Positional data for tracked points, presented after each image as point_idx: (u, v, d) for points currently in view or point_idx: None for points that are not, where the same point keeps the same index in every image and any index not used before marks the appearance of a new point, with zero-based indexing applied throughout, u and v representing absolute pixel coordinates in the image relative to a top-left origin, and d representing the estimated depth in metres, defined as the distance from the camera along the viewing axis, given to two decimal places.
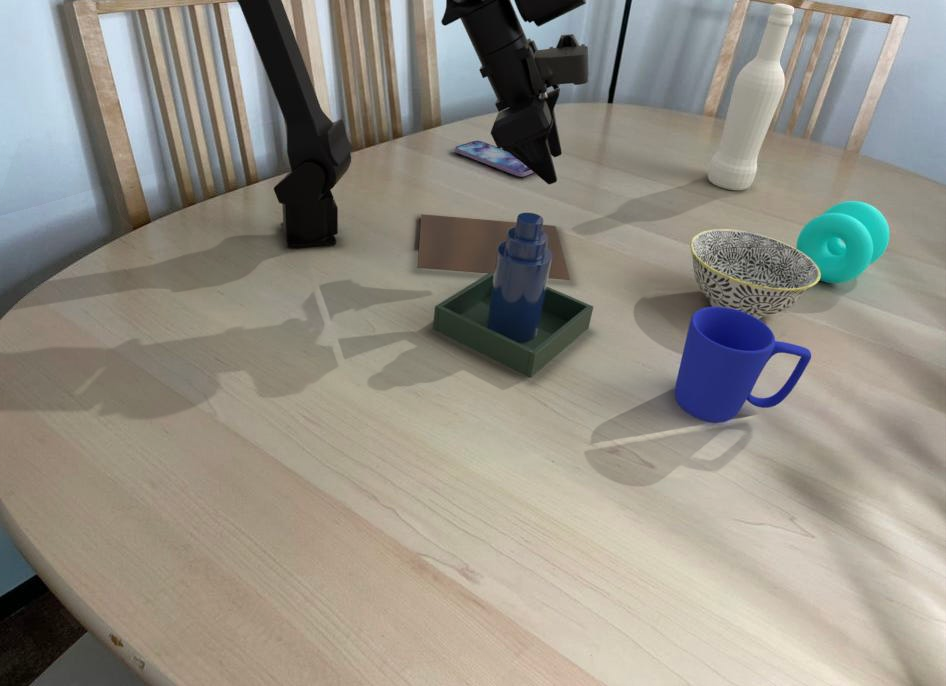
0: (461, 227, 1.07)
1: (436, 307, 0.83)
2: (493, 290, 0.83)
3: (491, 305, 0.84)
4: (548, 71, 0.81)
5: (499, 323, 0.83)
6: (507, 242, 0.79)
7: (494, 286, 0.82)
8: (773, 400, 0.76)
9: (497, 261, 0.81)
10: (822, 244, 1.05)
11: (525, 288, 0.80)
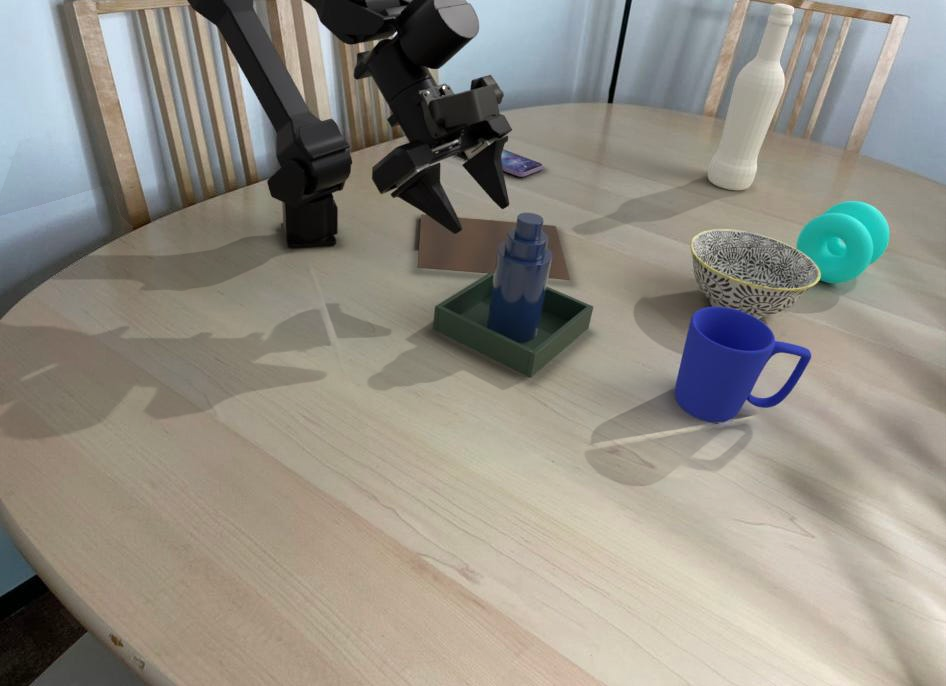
0: None
1: (436, 307, 0.83)
2: (493, 290, 0.83)
3: (491, 305, 0.84)
4: (439, 113, 0.76)
5: (499, 323, 0.83)
6: (507, 242, 0.79)
7: (494, 286, 0.82)
8: (773, 400, 0.76)
9: (497, 261, 0.81)
10: (822, 244, 1.05)
11: (525, 288, 0.80)
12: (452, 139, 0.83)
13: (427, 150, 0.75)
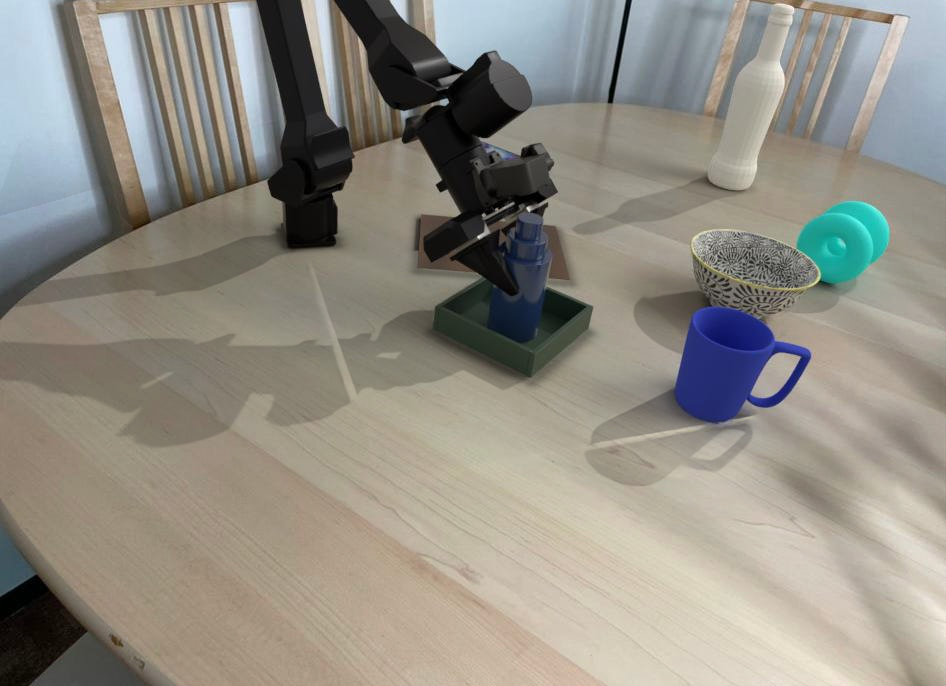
0: None
1: (436, 307, 0.83)
2: (493, 290, 0.83)
3: (491, 305, 0.84)
4: (491, 183, 0.76)
5: (499, 323, 0.83)
6: (507, 242, 0.79)
7: (494, 286, 0.82)
8: (773, 400, 0.76)
9: None
10: (822, 244, 1.05)
11: (525, 288, 0.80)
12: (500, 203, 0.83)
13: (479, 221, 0.75)
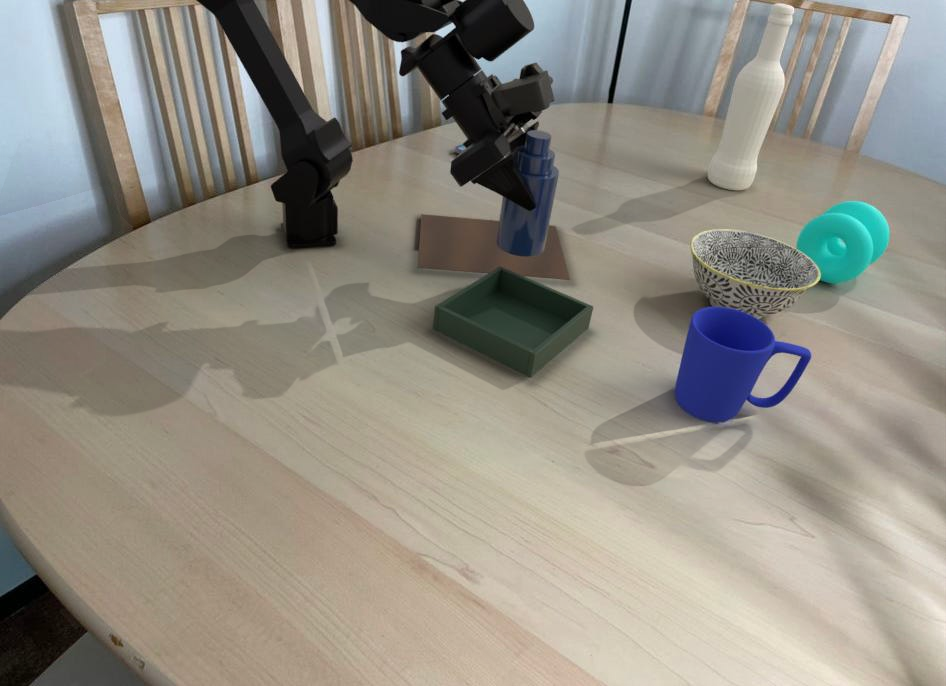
0: (461, 227, 1.07)
1: (436, 307, 0.83)
2: (506, 209, 0.87)
3: (504, 224, 0.88)
4: (505, 103, 0.80)
5: (515, 240, 0.88)
6: (520, 160, 0.84)
7: (508, 205, 0.87)
8: (773, 400, 0.76)
9: None
10: (822, 244, 1.05)
11: (541, 202, 0.86)
12: None
13: (505, 140, 0.79)
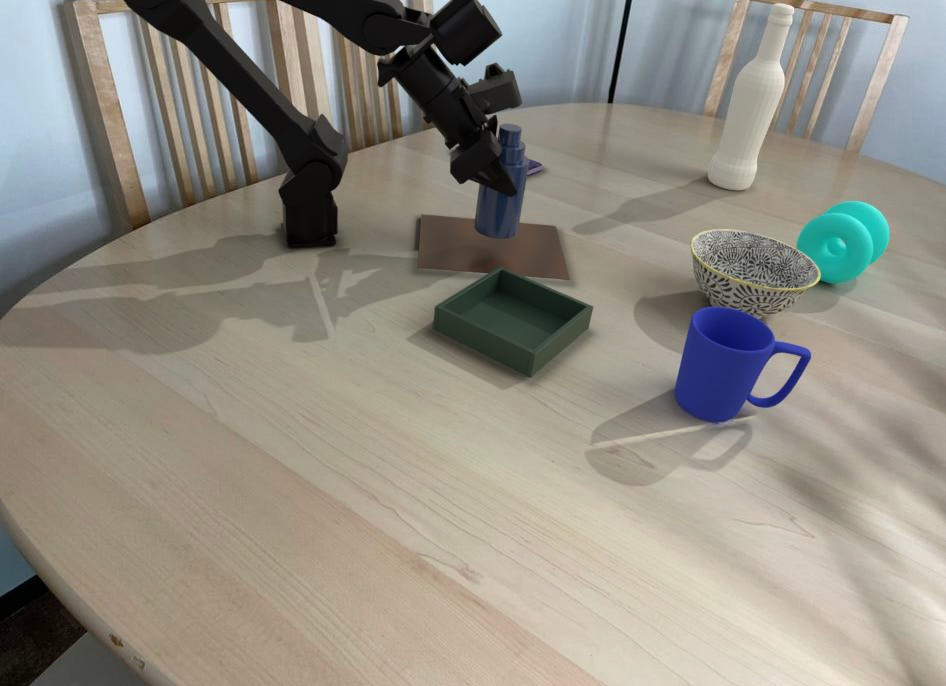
0: (461, 227, 1.07)
1: (436, 307, 0.83)
2: (487, 198, 0.96)
3: (486, 212, 0.97)
4: (485, 103, 0.88)
5: (498, 225, 0.97)
6: None
7: (489, 194, 0.95)
8: (773, 400, 0.76)
9: None
10: (822, 244, 1.05)
11: (519, 187, 0.95)
12: None
13: (494, 136, 0.87)
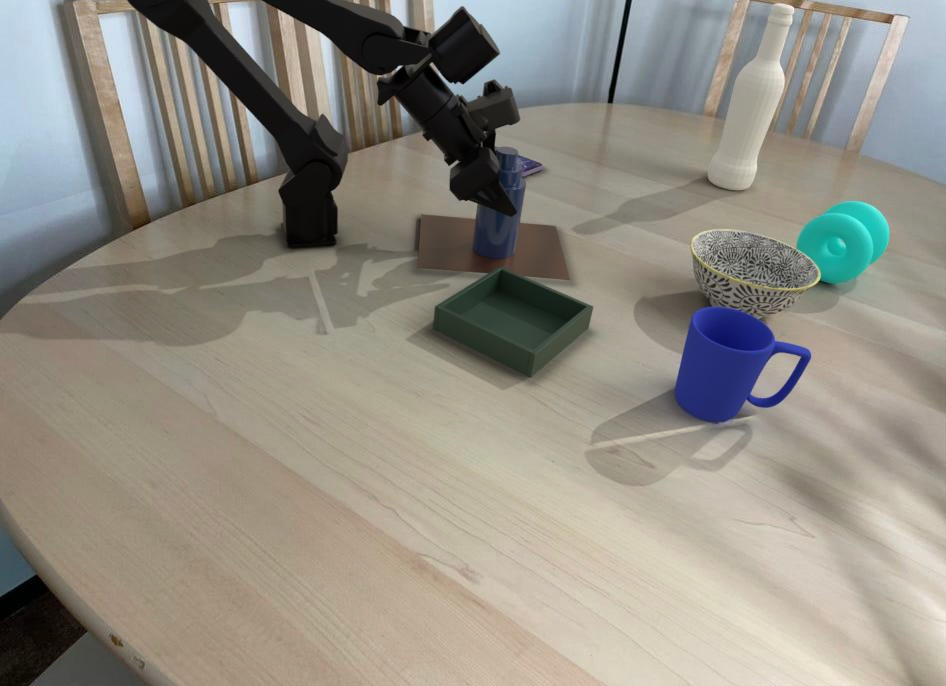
0: (461, 227, 1.07)
1: (436, 307, 0.83)
2: (485, 219, 0.97)
3: (484, 233, 0.98)
4: (483, 120, 0.89)
5: (496, 245, 0.99)
6: None
7: (486, 215, 0.97)
8: (773, 400, 0.76)
9: None
10: (822, 244, 1.05)
11: None
12: None
13: (493, 153, 0.88)
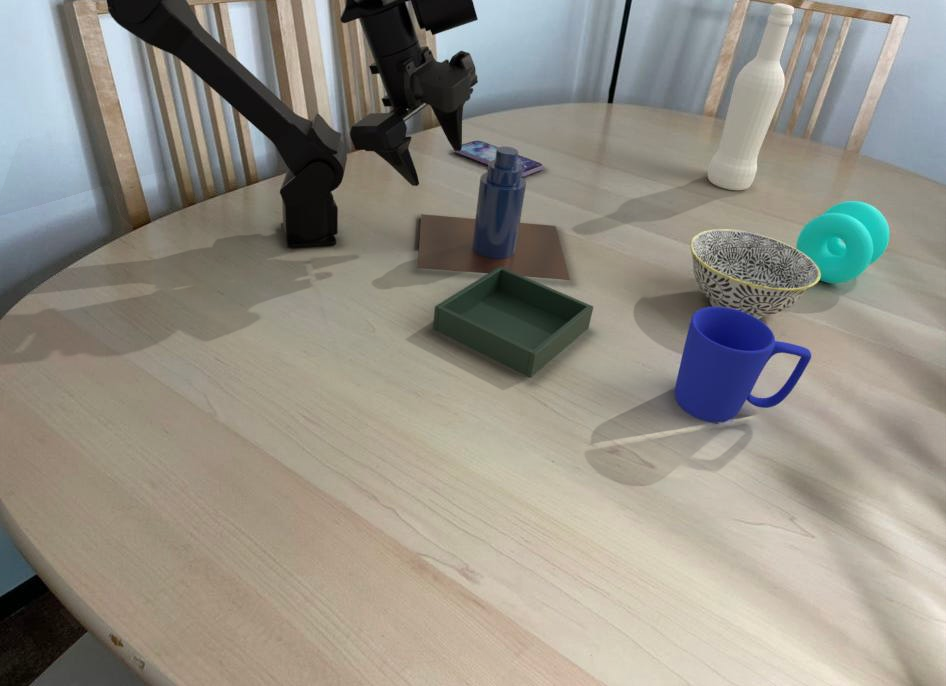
0: (461, 227, 1.07)
1: (436, 307, 0.83)
2: (485, 219, 0.97)
3: (484, 233, 0.98)
4: (418, 91, 0.86)
5: (496, 245, 0.99)
6: (494, 175, 0.94)
7: (486, 215, 0.97)
8: (773, 400, 0.76)
9: (488, 193, 0.95)
10: (822, 244, 1.05)
11: (516, 209, 0.97)
12: None
13: (402, 127, 0.86)
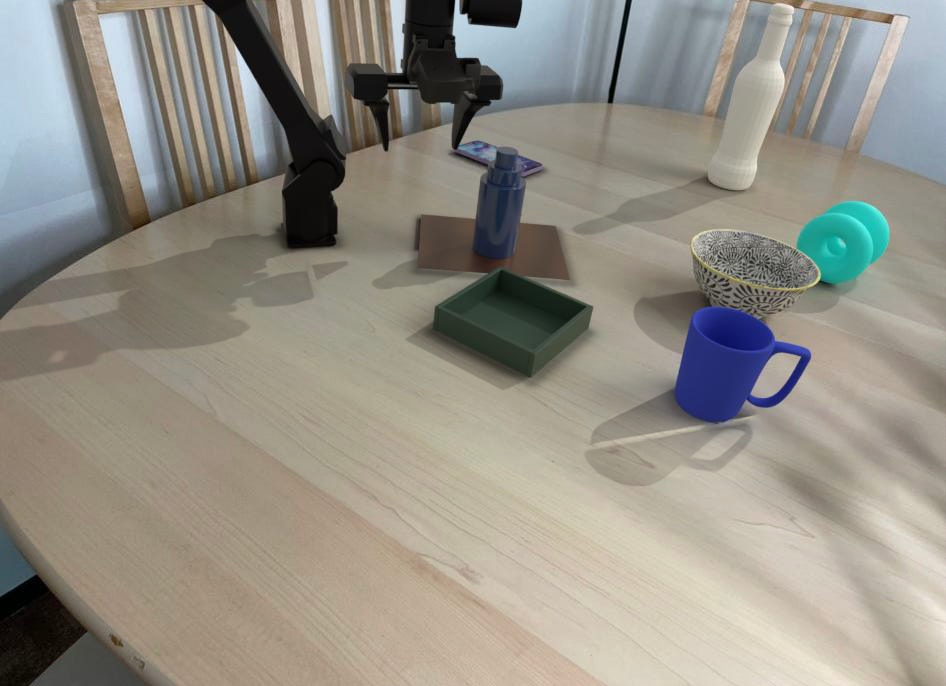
0: (461, 227, 1.07)
1: (436, 307, 0.83)
2: (485, 219, 0.97)
3: (484, 233, 0.98)
4: (414, 68, 0.85)
5: (496, 245, 0.99)
6: (494, 175, 0.94)
7: (486, 215, 0.97)
8: (773, 400, 0.76)
9: (488, 193, 0.95)
10: (822, 244, 1.05)
11: (516, 209, 0.97)
12: None
13: (382, 90, 0.87)
